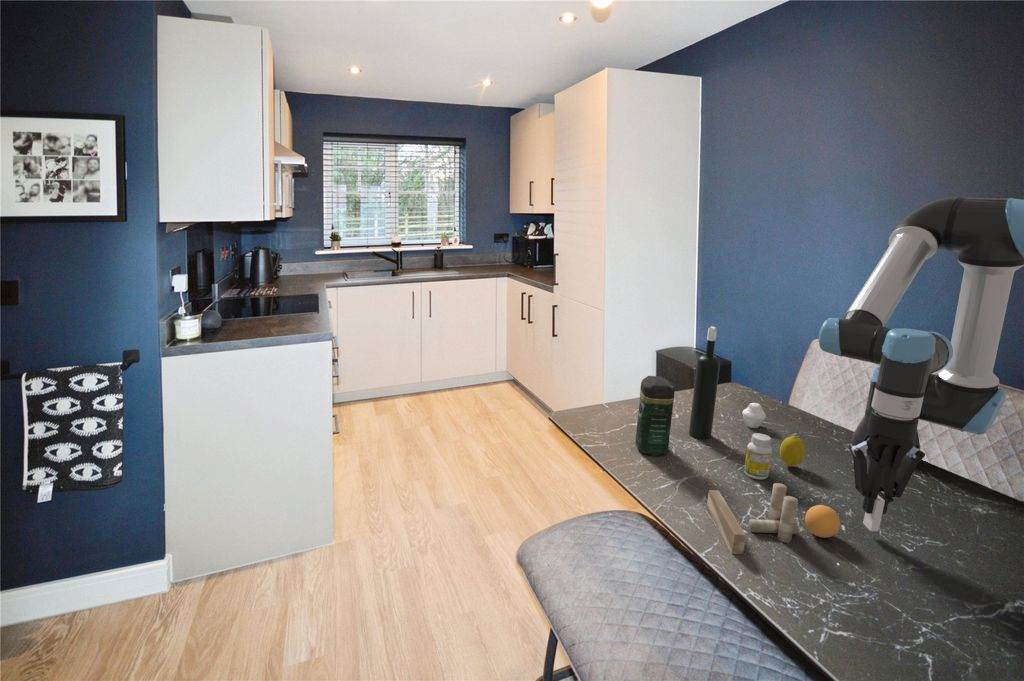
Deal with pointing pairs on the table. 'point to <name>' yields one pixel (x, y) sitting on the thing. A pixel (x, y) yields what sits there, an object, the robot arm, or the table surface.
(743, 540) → the back wall
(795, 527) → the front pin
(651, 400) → the coffee jar
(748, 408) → the white tapered rounded part
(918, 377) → the robot arm
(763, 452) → the supplement bottle
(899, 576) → the table surface
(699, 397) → the wine bottle
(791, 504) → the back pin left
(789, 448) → the lemon
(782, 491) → the back pin right
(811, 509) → the ball
